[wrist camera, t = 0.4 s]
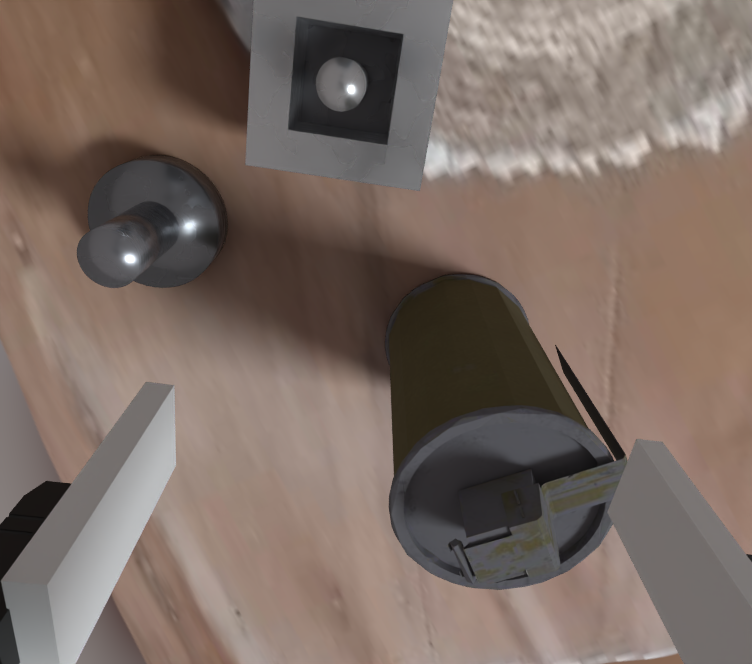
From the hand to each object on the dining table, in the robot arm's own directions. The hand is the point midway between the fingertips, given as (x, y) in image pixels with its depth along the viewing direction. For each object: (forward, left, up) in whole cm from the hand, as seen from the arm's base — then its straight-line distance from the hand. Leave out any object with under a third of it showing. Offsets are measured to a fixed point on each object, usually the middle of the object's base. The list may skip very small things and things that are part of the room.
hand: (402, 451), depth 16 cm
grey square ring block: (-9, -4, -22) cm, 24 cm away
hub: (+1, -15, -24) cm, 28 cm away
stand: (-9, -4, -24) cm, 26 cm away
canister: (+7, +6, -24) cm, 26 cm away
